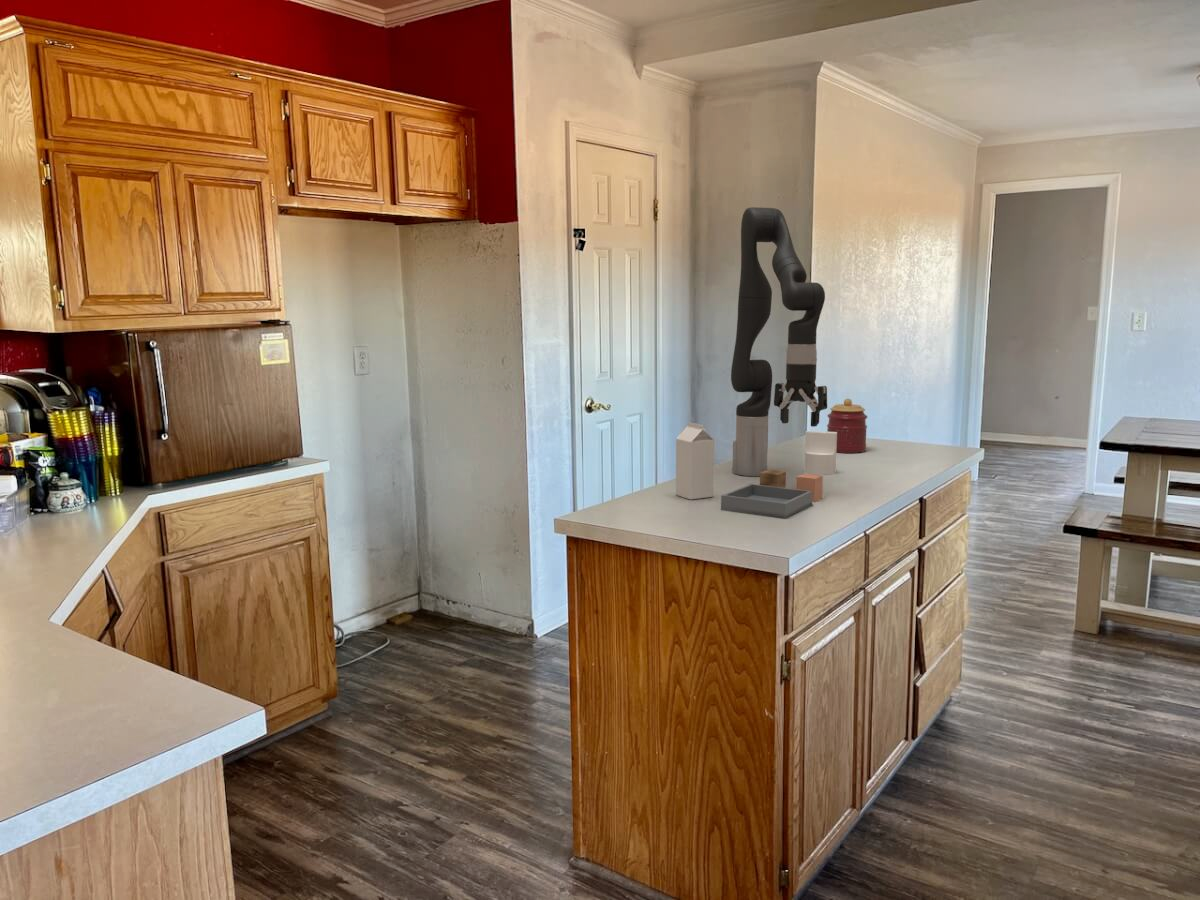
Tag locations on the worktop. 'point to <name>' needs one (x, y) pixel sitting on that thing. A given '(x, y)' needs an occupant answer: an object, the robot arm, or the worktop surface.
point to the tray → (767, 500)
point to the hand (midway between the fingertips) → (799, 424)
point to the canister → (848, 427)
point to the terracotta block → (811, 485)
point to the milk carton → (694, 463)
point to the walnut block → (773, 478)
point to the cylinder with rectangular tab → (820, 452)
